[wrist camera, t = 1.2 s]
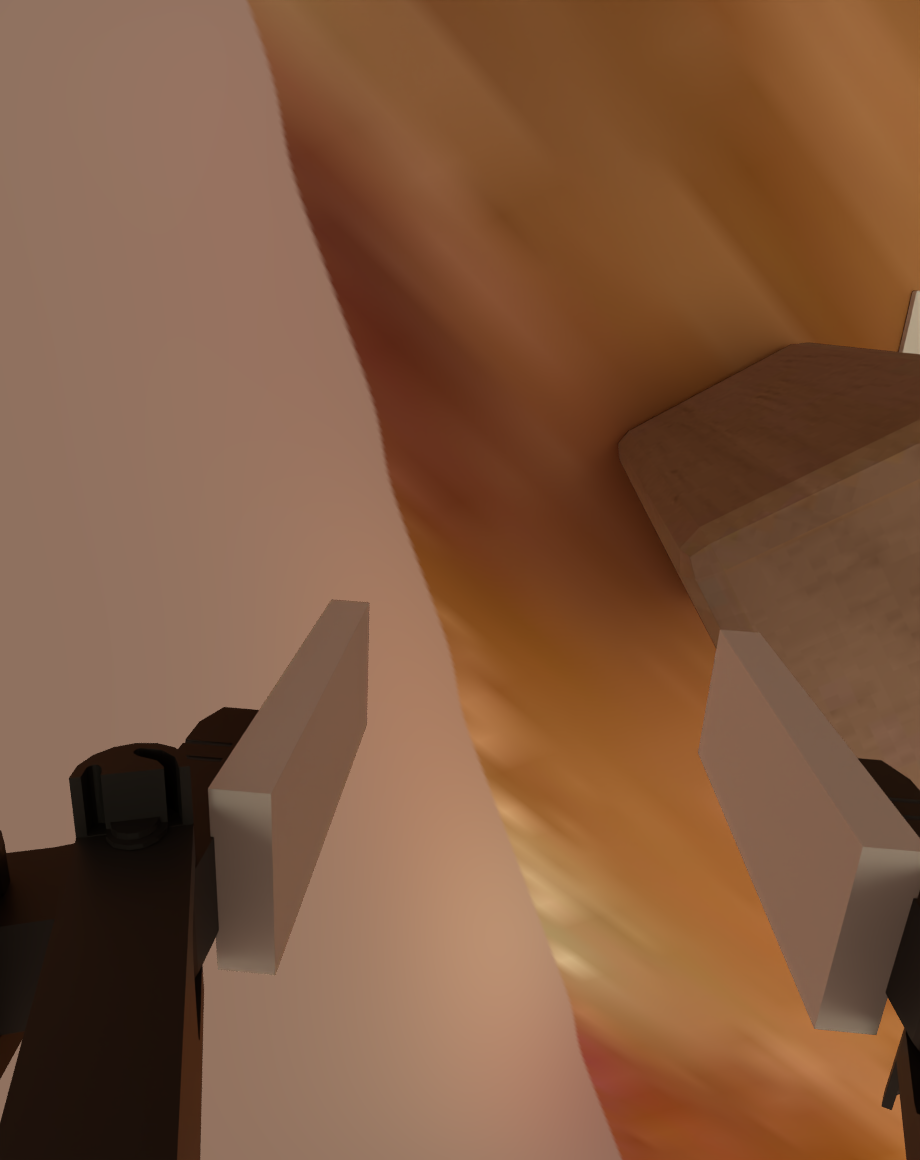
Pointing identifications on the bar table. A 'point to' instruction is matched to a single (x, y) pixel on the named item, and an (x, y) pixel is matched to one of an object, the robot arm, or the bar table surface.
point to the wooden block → (804, 526)
